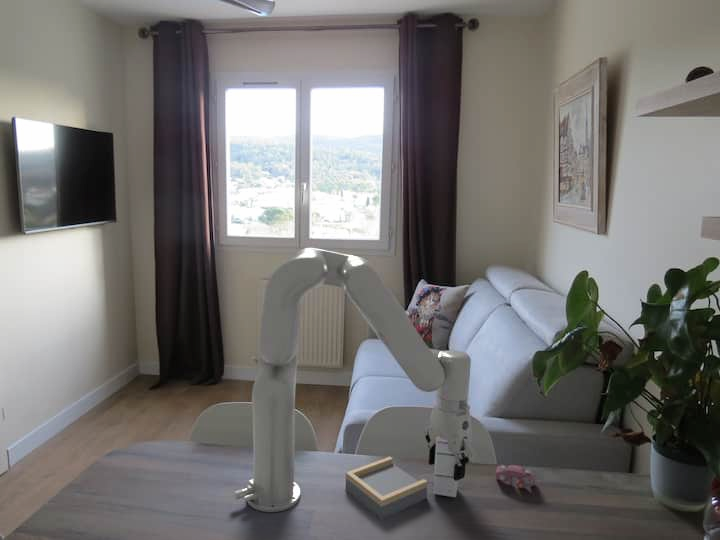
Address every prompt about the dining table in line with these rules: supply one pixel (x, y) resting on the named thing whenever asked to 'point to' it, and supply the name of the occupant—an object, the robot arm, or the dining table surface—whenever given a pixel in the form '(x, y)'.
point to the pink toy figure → (515, 476)
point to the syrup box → (444, 469)
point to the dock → (385, 487)
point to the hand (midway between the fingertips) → (446, 470)
